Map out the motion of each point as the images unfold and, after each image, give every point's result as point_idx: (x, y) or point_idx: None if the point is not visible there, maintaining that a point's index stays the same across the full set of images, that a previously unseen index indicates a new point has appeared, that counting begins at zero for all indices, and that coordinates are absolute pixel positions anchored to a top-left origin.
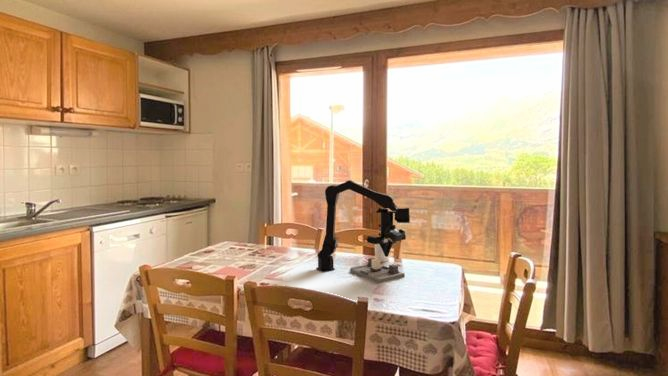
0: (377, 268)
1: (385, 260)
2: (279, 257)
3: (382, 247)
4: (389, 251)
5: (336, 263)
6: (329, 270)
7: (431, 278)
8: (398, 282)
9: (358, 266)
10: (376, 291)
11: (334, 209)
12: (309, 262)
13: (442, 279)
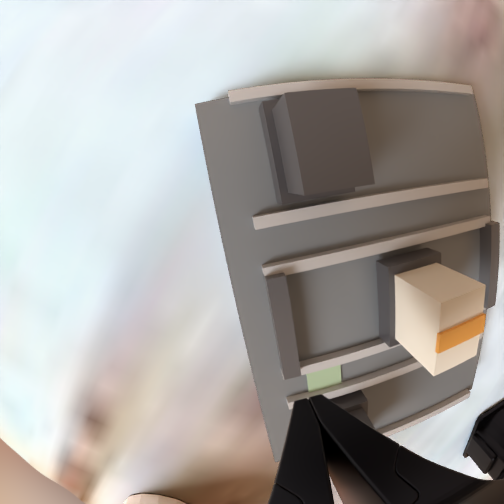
0: (425, 267)
1: (151, 498)
2: None
3: None
4: (290, 452)
5: None
6: (498, 404)
7: (41, 30)
8: (329, 23)
9: (427, 413)
10: (486, 12)
11: None
12: None
13: (11, 9)
